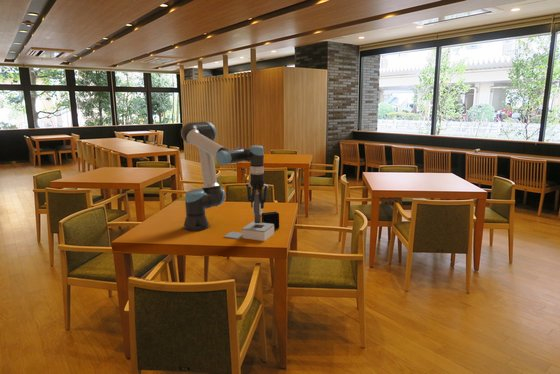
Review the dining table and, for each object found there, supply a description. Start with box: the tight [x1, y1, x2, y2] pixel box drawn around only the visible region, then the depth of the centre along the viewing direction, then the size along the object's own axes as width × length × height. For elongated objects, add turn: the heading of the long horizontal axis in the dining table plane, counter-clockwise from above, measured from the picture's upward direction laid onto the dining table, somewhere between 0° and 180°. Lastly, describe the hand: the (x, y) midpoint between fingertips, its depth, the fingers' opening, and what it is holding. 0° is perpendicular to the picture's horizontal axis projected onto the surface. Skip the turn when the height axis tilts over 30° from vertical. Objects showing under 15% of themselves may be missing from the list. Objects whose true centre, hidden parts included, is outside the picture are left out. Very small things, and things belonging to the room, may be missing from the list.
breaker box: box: [241, 221, 275, 242], centre depth 223 cm, size 14×14×6 cm
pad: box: [223, 231, 242, 240], centre depth 223 cm, size 9×9×1 cm
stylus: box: [253, 192, 262, 223], centre depth 220 cm, size 4×4×17 cm
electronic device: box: [261, 211, 280, 230], centre depth 235 cm, size 4×10×10 cm, turn 111°
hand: (257, 213), depth 221 cm, fingers closed on stylus, 3 cm apart
